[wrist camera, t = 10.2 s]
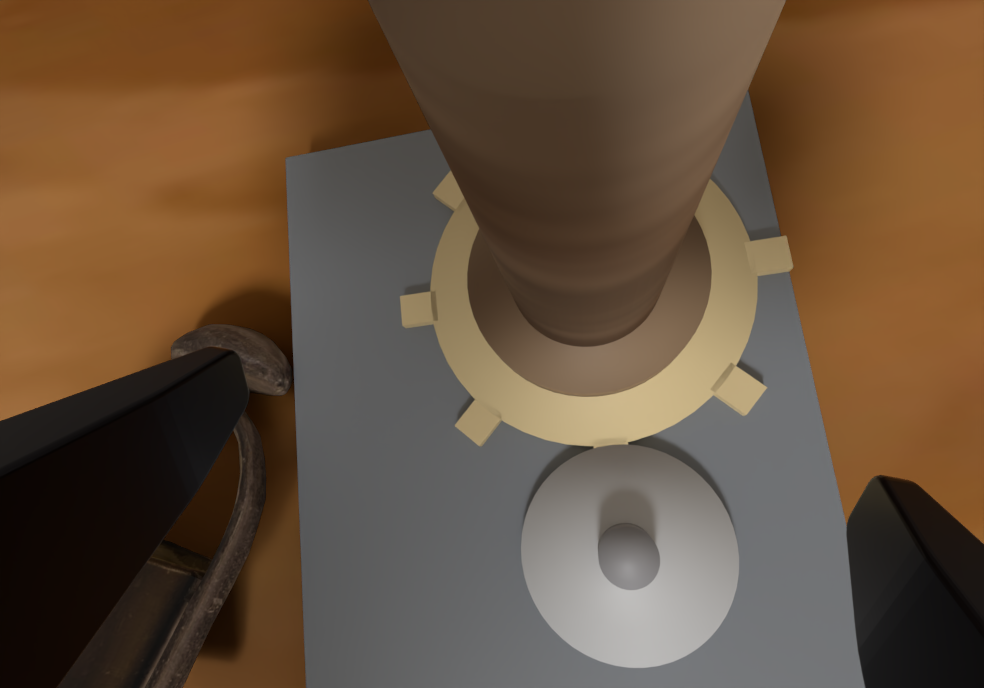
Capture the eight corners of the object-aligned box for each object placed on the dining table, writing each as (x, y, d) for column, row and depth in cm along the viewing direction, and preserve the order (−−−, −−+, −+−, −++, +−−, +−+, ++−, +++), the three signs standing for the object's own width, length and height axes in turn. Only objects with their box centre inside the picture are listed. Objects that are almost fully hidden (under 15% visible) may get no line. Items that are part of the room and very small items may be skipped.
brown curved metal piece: (-195, 595, 17) (-104, 943, 12) (52, 227, 16) (242, 448, 12) (67, 567, 23) (189, 788, 19) (249, 304, 23) (420, 465, 18)
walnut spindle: (750, 326, 17) (1202, -46, 4) (539, 438, 17) (405, 389, 5) (628, 140, 19) (705, -508, 6) (438, 247, 19) (145, -158, 7)
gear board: (861, 688, 17) (917, 736, 14) (329, 716, 19) (284, 762, 16) (732, 95, 20) (755, 37, 18) (305, 177, 23) (264, 137, 20)
